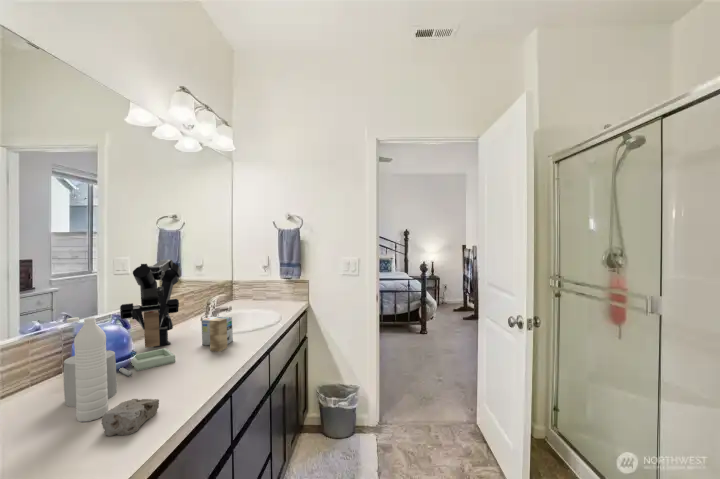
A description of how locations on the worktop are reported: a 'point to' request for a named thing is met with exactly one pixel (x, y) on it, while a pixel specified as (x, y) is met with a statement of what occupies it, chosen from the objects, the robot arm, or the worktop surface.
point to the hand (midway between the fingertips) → (151, 327)
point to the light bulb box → (207, 330)
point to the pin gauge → (125, 372)
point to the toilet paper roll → (70, 378)
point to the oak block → (218, 334)
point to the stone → (128, 416)
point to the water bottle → (90, 371)
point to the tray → (152, 359)
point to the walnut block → (151, 328)
